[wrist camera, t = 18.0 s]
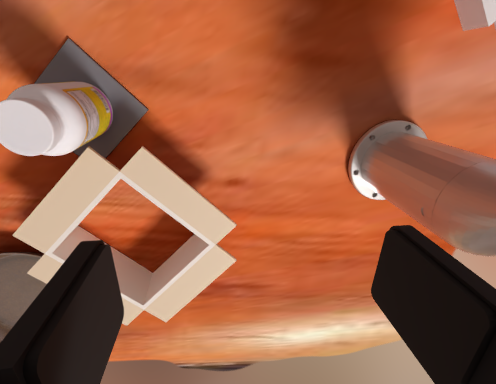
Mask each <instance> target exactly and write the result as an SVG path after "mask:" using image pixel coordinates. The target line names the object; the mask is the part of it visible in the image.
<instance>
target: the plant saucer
mask: <svg viewBox="0 0 496 384" xmlns="http://www.w3.org/2000/svg"><path fill="white" fill-rule="evenodd" d="M43 255H44V254H39V253H32V252H6V253H0V343H1V341H2V340H3V339H4V338H5V336H6V335H7V334H8V332H9V331H10V330H11V329H12V327H13V326H14V325H15V324H16V322H17V321H18V320H19V319H20V317H21V316H22V315H23V313H24V312H25V311H26V310H27V308H28V307H29V306H30V305H31V303H32V302H33V301H34V300H35V298H36V297H37V296H38V295H39V293H40V292H41V291H42V290H43V288H44V287H45V286H46V285H47V284H46V283H44V282H42V281H40V280H38V279H37V278H35V277H33V276H31V275H29V274H27V272H28V271H29V270H30V269H31V268H32V267H33V266H34V265H35V264H36V263H37V262H38V260H39V259H40V258H41V257H42V256H43Z"/></svg>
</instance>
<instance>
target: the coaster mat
mask: <svg viewBox="0 0 496 384" xmlns="http://www.w3.org/2000/svg"><path fill="white" fill-rule="evenodd" d="M60 82H85V83H89V84H91V85H93V86H95V87H97V88H98V89H100V90H101V91H102V92H103V93H104V94H105V95H106V97H107V98H108V99H109V101H110V103H111V106H112V109H113V121H112V124H111V126H110V127H109V129H108V130H107V131H106V132H105V133H103V134H102V135H100V136H98V137H97V138H95V139H93V140H91V141H90V142H88V143H86V144H84V145H82V146H81V147H79V148H77V149H76V150H74V151H73V152H74V153H75V154H77V155H78V156H79V157H80V156H81V155H82V153H83V152H84V151H85V150H86V149H87V148H88V147H91V148H92V149H93V150H95V151H96V152H97V153H99V154H100V155H101V156H103V157H104V158H106V157H107V156H108V155H109V154H110V153H111V152H112V150H113V149H114V148H115V147H116V146H117V145H118V144H119V143H120V141H121V140H122V139H123V138H124V137H125V136H126V135H127V134H128V132H129V131H130V130H131V129H132V128H133V127H134V126H135V124H136V123H137V122H138V121H139V120H140V119H141V118H142V117H143V115H144V114H145V113H146V112H147V111H148V109H147V108H146V107H145V106H144V105H143V104H142V103H141V102H139V101H138V100H137V99H136V98H135V97H134V96H133V95H132V94H131V93H129V92H128V91H127V90H126V89H125V88H124V87H123V86H122V85H121V84H119V83H118V82H117V81H116V80H115V79H114V78H113V77H112V76H111V75H109V74H108V73H107V72H106V71H105V70H104V69H103V68H102V67H101V66H99V65H98V64H97V63H96V62H95V61H94V60H93V59H92V58H91V57H90V56H88V55H87V54H86V53H85V52H84V51H83V50H82V49H81V48H80V47H78V46H77V45H76V44H75V43H74V42H73V41H72V40H71V39H67V41H66V42H65V43H64V45H63V46H62V47H61V49H60V50H59V51H58V53H57V54H56V55H55V57H54V58H53V59H52V61H51V62H50V63H49V65H48V66H47V67H46V69H45V70H44V71H43V73H42V74H41V75H40V77H39V78H38V79H37V81H36V82H35V83H34V84H42V83H60Z"/></svg>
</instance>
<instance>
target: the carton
mask: <svg viewBox="0 0 496 384" xmlns="http://www.w3.org/2000/svg"><path fill="white" fill-rule="evenodd" d="M120 179H122V180H124V181H125V182H126V183H128V184H129V185H130V186H131V187H133V188H134V189H135V190H137V191H138V192H139V193H141V194H142V195H143V196H145V197H146V198H147V199H149V200H150V201H151V202H153V203H154V204H155V205H157V206H158V207H159V208H161V209H162V210H163V211H165V212H166V213H167V214H169V215H170V216H171V217H173V218H174V219H175V220H177V221H178V222H179V223H181V224H182V225H183V226H185V227H186V228H187V229H189V230H190V231H191V232H193V233H194V235H193V236H192V237H191V238H189V239H188V240H187V241H186V242H185V243H184V244H183V245H182V246H181V247H180V248H179V249H178V250H177V251H176V252H175V253H174V254H173V255H171V256H170V257H169V258H168V259H167V260H166V261H165V262H164V263H163V264H162V265H161V266H160V267H159V268H158V269H157V270H156V271H155V272H153V273H152V272H151V271H149V270H147V269H146V268H144V267H143V266H141V265H140V264H138V263H136V262H135V261H133V260H132V259H130V258H129V257H127V256H125V255H124V254H122V253H121V252H119V251H118V250H116V249H114V248H113V247H111V246H110V247H111V251H112V255H113V260H114V264H115V269H116V274H117V278H118V283H119V288H120V292H121V297H122V301H123V306H124V317H123V321H122V323H123V324H124V325H126V326H127V325H128V324H129V323H130V322H131V321H132V320H134V319H135V318H136V317H137V316H138V315H139V314H140V313H141V312H142V311H143V310H145V311H147V312H149V313H150V314H152V315H154V316H156V317H157V318H159V319H161V320H163V321H165V322H167V321H168V320H169V319H170V318H172V317H173V316H174V315H175V314H176V313H177V312H178V311H180V310H181V309H182V308H183V307H184V306H185V305H186V304H188V303H189V302H190V301H191V300H192V299H193V298H194V297H196V296H197V295H198V294H199V293H200V292H201V291H202V290H204V289H205V288H206V287H207V286H208V285H209V284H210V283H212V282H213V281H214V280H215V279H216V278H217V277H218V276H220V275H221V274H222V273H223V272H224V271H225V270H226V269H227V268H229V267H230V266H231V265H232V264H233V263H234V262H235V261H237V260H236V258H235V257H233V256H232V255H231V254H229V253H228V252H227V251H225V250H224V249H223V248H222V247H220V246H219V245H218V244H217V243H218V242H219V241H220V240H221V239H222V238H224V237H225V236H226V235H227V234H228V233H229V232H230V231H231V230H232V229H233V228H234V227H236V226H237V224H236V223H235V222H234V221H232V220H231V219H230V218H229V217H228V216H226V215H225V214H224V213H223V212H222V211H220V210H219V209H218V208H217V207H216V206H214V205H213V204H212V203H211V202H210V201H208V200H207V199H206V198H205V197H204V196H202V195H201V194H200V193H199V192H198V191H196V190H195V189H194V188H193V187H192V186H190V185H189V184H188V183H187V182H186V181H184V180H183V179H182V178H181V177H180V176H178V175H177V174H176V173H175V172H174V171H172V170H171V169H170V168H169V167H168V166H166V165H165V164H164V163H163V162H162V161H160V160H159V159H158V158H157V157H156V156H154V155H153V154H152V153H151V152H150V151H148V150H147V149H146V148H145V147H144V146H142V147H141V148H140V150H139V151H138V152H137V153H136V154H135V155H134V156H133V157H132V158H131V159H130V161H129V162H128V163H127V164H126V165H125V166H124V167H123V168H122V169H121V170H120V169H118V168H117V167H116V166H114V165H113V164H112V163H110V162H109V161H108V160H106V159H105V158H104V157H103V156H101V155H100V154H99V153H97V152H96V151H95V150H93V149H92V148H91V147H88V148H87V149H86V150H85V151H84V152H83V153H82V155H81V156H80V157H79V158H78V159H77V160H76V162H75V163H74V164H73V165H72V166H71V168H70V169H69V170H68V171H67V172H66V173H65V175H64V176H63V177H62V178H61V179H60V180H59V182H58V183H57V184H56V185H55V186H54V187H53V189H52V190H51V191H50V192H49V193H48V194H47V196H46V197H45V198H44V199H43V200H42V201H41V203H40V204H39V205H38V206H37V207H36V208H35V210H34V211H33V212H32V213H31V214H30V215H29V217H28V218H27V219H26V220H25V221H24V222H23V224H22V225H21V226H20V227H19V228H18V229H17V231H16V232H15V233H14V234H13V235H12V236H14V237H16V238H18V239H19V240H21V241H23V242H25V243H26V244H28V245H30V246H32V247H34V248H35V249H37V250H39V251H41V252H42V253H44V255H43V256H42V257H41V258H40V259H39V260H38V262H37V263H36V264H35V265H34V266H33V267H32V268H31V269H30V270H29V271H28V272H27V274H29V275H31V276H33V277H35V278H37V279H38V280H40V281H42V282H44V283H46V284H47V283H48V282H49V281H50V280H51V278H52V277H53V276H54V274H55V273H56V272H57V271H58V269H59V268H60V267H61V266H62V264H63V263H64V262H65V261H66V259H67V258H68V257H69V255H70V254H71V253H72V252H73V250H74V249H75V248H76V247H77V245H78V244H79V243H80V242H81V241H94V240H100V239H99V238H97V237H95V236H94V235H92V234H91V233H89V232H88V231H86V230H84V229H83V228H81V227H80V226H78V224H79V223H80V222H81V221H82V220H83V219H84V218H85V217H86V216H87V215H88V214H89V212H90V211H91V210H92V209H93V208H94V207H95V206H96V205H97V204H98V203H99V202H100V201H101V199H102V198H103V197H104V196H105V195H106V194H107V193H108V192H109V191H110V190H111V189H112V187H113V186H114V185H115V184H116V183H117V182H118V181H119V180H120ZM104 243H105V242H104ZM105 245H107V244H106V243H105Z"/></svg>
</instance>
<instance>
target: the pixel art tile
mask: <svg viewBox="0 0 496 384" xmlns="http://www.w3.org/2000/svg"><path fill="white" fill-rule="evenodd" d="M454 2H455V5H456V9H457V12H458V15H459V19H460V22H461V26H462V29H463V31H465V30H471V29H476V28H482V27H488V26H490V25H491V24H493V23H494V25H495V29H496V0H454Z"/></svg>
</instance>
